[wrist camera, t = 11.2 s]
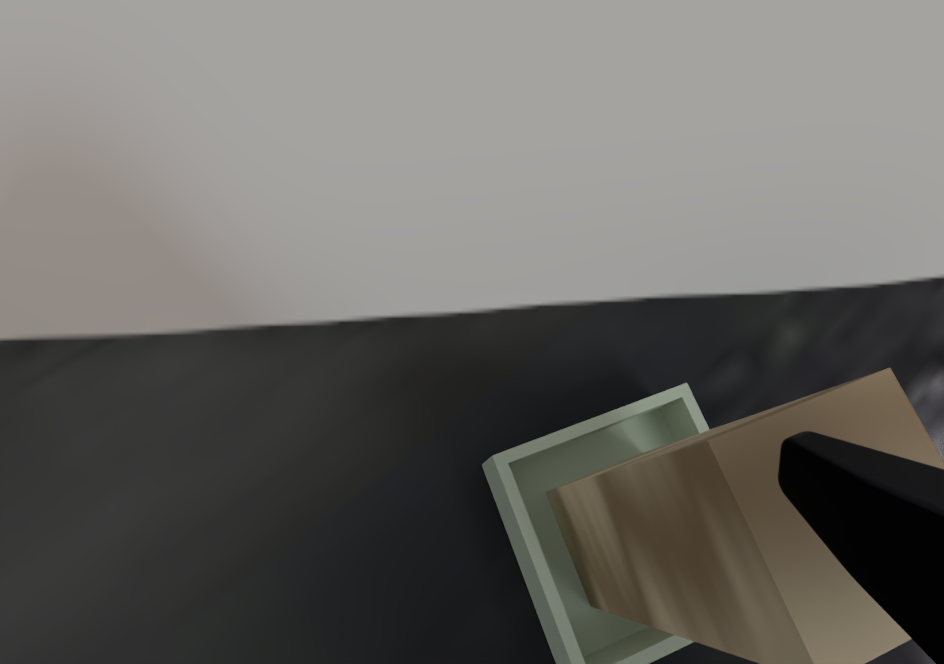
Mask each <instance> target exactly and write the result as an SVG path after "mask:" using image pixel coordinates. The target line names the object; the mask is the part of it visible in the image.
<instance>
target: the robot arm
mask: <svg viewBox="0 0 944 664" xmlns="http://www.w3.org/2000/svg"><path fill="white" fill-rule="evenodd" d="M778 483H779V486H780V488H781V490H782V492H783V493H784V495H785V496H786V497H787V499H788V500H789V501H790V502H791V503H792V505H793V506H794V507H795V508H796V510H797V511H798V512H799V513H800V515H801V516H802V517H803V518H804V519H805V521H806V522H807V523H808V524H809V526H810V527H811V528H812V529H813V531H814V532H815V533H816V534H817V535H818V537H819V538H820V539H821V540H822V542H823V543H824V544H825V545H826V546H827V548H828V549H829V550H830V551H831V553H832V554H833V555H834V556H835V558H836V559H837V560H838V561H839V562H840V564H841V565H842V566H843V567H844V568H845V569H846V571H847V572H848V573H849V574H850V575H851V576H852V577H853V578H854V580H855V581H856V582H857V583H858V584H859V585H860V586H861V587H862V588H863V589H864V590H865V591H866V592H867V593H868V594H869V595H870V596H871V597H872V598H873V599H874V600H875V601H876V602H877V603H878V605H879V606H880V607H881V608H882V609H883V610H884V611H885V612H886V613H887V614H888V615H889V616H890V617H891V618H892V619H893V620H894V621H895V622H896V623H897V624H898V625H899V626H900V627H901V628H902V629H903V630H904V631H905V632H906V633H907V634H908V635H909V636H910V637H911V638H912V639H913V640H914V641H915V642H916V643H917V644H918V646H919V647H920V648H921V649H922V650H923V651H924V652H925V653H926V654H927V655H928V656H929V657H930V658H931V659H932V660H933V661H934V662H935V663H936V664H944V469H941V468H938V467H934V466H931V465H927V464H924V463H920V462H917V461H913V460H910V459H906V458H903V457H900V456H896V455H893V454H889V453H886V452H882V451H879V450H875V449H872V448H868V447H865V446H861V445H858V444H854V443H851V442H847V441H844V440H840V439H837V438H833V437H830V436H826V435H823V434H819V433H816V432H812V431H803V432H800V433H798V434H795V435H793V436H791V437H788V438H786V439H785V440H784V441H783V442H782V444H781V448H780V458H779V468H778Z"/></svg>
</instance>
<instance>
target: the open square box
mask: <svg viewBox="0 0 944 664" xmlns="http://www.w3.org/2000/svg"><path fill="white" fill-rule="evenodd" d="M708 430H709V428H708V425H707V423H706V421H705V419H704V417H703V415H702V413H701V411H700V409H699V407H698V405H697V402H696V400H695V398H694V396H693V394H692V392H691V390H690V388H689V386H688V384H687V383H685V384H682V385H679V386H677V387H674V388H671V389H669V390H666V391H663V392H661V393H658V394H655V395H653V396H650V397H647V398H645V399H642V400H639V401H637V402H634V403H631V404H629V405H626V406H623V407H621V408H618V409H615V410H613V411H610V412H607V413H605V414H602V415H599V416H597V417H594V418H591V419H589V420H586V421H583V422H581V423H578V424H575V425H573V426H570V427H567V428H565V429H562V430H559V431H557V432H554V433H551V434H549V435H546V436H543V437H541V438H538V439H535V440H533V441H530V442H527V443H525V444H522V445H519V446H517V447H514V448H511V449H509V450H506V451H503V452H501V453H498V454H495V455H493V456H491V457H490V458H489V459H488V460H486V461H485V462H484V463H483V464H482V467H483V470H484V473H485V475H486V478H487V481H488V483H489V486H490V489H491V491H492V494H493V497H494V499H495V502H496V505H497V507H498V510H499V513H500V515H501V518H502V521H503V524H504V526H505V529H506V532H507V534H508V537H509V540H510V542H511V545H512V548H513V550H514V553H515V556H516V558H517V561H518V564H519V566H520V569H521V572H522V574H523V577H524V580H525V582H526V585H527V588H528V590H529V593H530V596H531V598H532V601H533V604H534V607H535V609H536V612H537V615H538V617H539V620H540V623H541V625H542V628H543V631H544V633H545V636H546V639H547V641H548V644H549V647H550V649H551V652H552V655H553V657H554V660H555V663H556V664H650V663H652V662H654V661H656V660H658V659H660V658H662V657H664V656H666V655H668V654H670V653H672V652H674V651H676V650H678V649H681V648H683V647H685V646H687V645H689V644H691V643H693V642H694V641H691V640H688V639H685V638H682V637H679V636H676V635H674V634H671V633H668V632H665V631H662V630H659V629H656V628H653V627H650V626H647V625H644V624H641V623H638V622H635V621H632V620H629V619H626V618H623V617H620V616H617V615H614V614H611V613H609V612H606V611H603V610H600V609H597V608H594V607H591V606H590V604H589V601H588V599H587V596H586V594H585V591H584V589H583V586H582V584H581V581H580V579H579V576H578V574H577V571H576V569H575V566H574V563H573V561H572V558H571V556H570V553H569V551H568V548H567V546H566V543H565V541H564V538H563V536H562V533H561V531H560V528H559V526H558V523H557V521H556V518H555V515H554V513H553V510H552V508H551V505H550V503H549V500H548V498H547V495H546V493H545V491H548V490H551V489H553V488H556V487H558V486H561V485H563V484H566V483H568V482H571V481H573V480H576V479H578V478H581V477H583V476H586V475H588V474H591V473H593V472H596V471H598V470H601V469H604V468H606V467H609V466H611V465H614V464H616V463H619V462H621V461H624V460H626V459H629V458H631V457H634V456H636V455H639V454H641V453H644V452H647V451H650V450H653V449H656V448H658V447H661V446H664V445H667V444H670V443H673V442H676V441H679V440H682V439H685V438H687V437H690V436H693V435H696V434H699V433H702V432H705V431H708Z"/></svg>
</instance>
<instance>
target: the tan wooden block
mask: <svg viewBox="0 0 944 664" xmlns="http://www.w3.org/2000/svg"><path fill="white" fill-rule="evenodd" d="M803 431H812V432H816V433H819V434H823V435H826V436H830V437H833V438H837V439H840V440H844V441H847V442H851V443H854V444H858V445H861V446H865V447H868V448H872V449H875V450H879V451H882V452H886V453H889V454H893V455H896V456H900V457H903V458H906V459H910V460H913V461H917V462H920V463H924V464H927V465H931V466H934V467H938V468H941V469H944V461H943V459H942V457H941V456H940V454H939V452H938V450H937V449H936V447H935V445H934V443H933V442H932V440H931V438H930V437H929V435H928V433H927V431H926V430H925V428H924V426H923V424H922V423H921V421H920V419H919V417H918V416H917V414H916V412H915V410H914V409H913V407H912V405H911V403H910V402H909V400H908V398H907V396H906V395H905V393H904V391H903V389H902V388H901V386H900V384H899V382H898V381H897V379H896V377H895V375H894V374H893V372H892V370H891V368H887V369H884V370H882V371H879V372H876V373H873V374H870V375H867V376H864V377H861V378H858V379H855V380H853V381H850V382H847V383H844V384H841V385H838V386H835V387H832V388H829V389H827V390H824V391H821V392H818V393H815V394H812V395H809V396H806V397H803V398H800V399H798V400H795V401H792V402H789V403H786V404H783V405H780V406H777V407H774V408H771V409H769V410H766V411H763V412H760V413H757V414H754V415H751V416H748V417H745V418H743V419H740V420H737V421H734V422H731V423H728V424H725V425H722V426H719V427H716V428H714V429H711V430H708V431H705V432H702V433H699V434H696V435H693V436H690V437H687V438H685V439H682V440H679V441H676V442H673V443H670V444H667V445H664V446H661V447H658V448H656V449H653V450H650V451H647V452H644V453H641V454H639V455H636V456H634V457H631V458H629V459H626V460H624V461H621V462H619V463H616V464H614V465H611V466H609V467H606V468H604V469H601V470H598V471H596V472H593V473H591V474H588V475H586V476H583V477H581V478H578V479H576V480H573V481H571V482H568V483H566V484H563V485H561V486H558V487H556V488H553V489H551V490H548V491H545V493H546V495H547V498H548V500H549V503H550V505H551V508H552V510H553V513H554V515H555V518H556V521H557V523H558V526H559V528H560V531H561V533H562V536H563V538H564V541H565V543H566V546H567V548H568V551H569V553H570V556H571V558H572V561H573V563H574V566H575V569H576V571H577V574H578V576H579V579H580V581H581V584H582V586H583V589H584V591H585V594H586V596H587V599H588V601H589V604H590V606H591V607H594V608H597V609H600V610H603V611H606V612H609V613H611V614H614V615H617V616H620V617H623V618H626V619H629V620H632V621H635V622H638V623H641V624H644V625H647V626H650V627H653V628H656V629H659V630H662V631H665V632H668V633H671V634H674V635H676V636H679V637H682V638H685V639H688V640H691V641H694V642H697V643H700V644H703V645H706V646H709V647H712V648H715V649H718V650H721V651H724V652H727V653H730V654H733V655H736V656H739V657H742V658H744V659H747V660H750V661H753V662H756V663H759V664H865V663H867V662H869V661H871V660H873V659H875V658H877V657H878V656H880V655H882V654H884V653H886V652H888V651H890V650H892V649H894V648H895V647H897V646H899V645H901V644H903V643H905V642H907V641H909V640H910V639H912V638H911V637H910V636H909V635H908V634H907V633H906V632H905V631H904V630H903V629H902V628H901V627H900V626H899V625H898V624H897V623H896V622H895V621H894V620H893V619H892V618H891V617H890V616H889V615H888V614H887V613H886V612H885V611H884V610H883V609H882V608H881V607H880V606H879V605H878V603H877V602H876V601H875V600H874V599H873V598H872V597H871V596H870V595H869V594H868V593H867V592H866V591H865V590H864V589H863V588H862V587H861V586H860V585H859V584H858V583H857V582H856V581H855V580H854V578H853V577H852V576H851V575H850V574H849V573H848V572H847V571H846V569H845V568H844V567H843V566H842V565H841V564H840V562H839V561H838V560H837V559H836V558H835V556H834V555H833V554H832V553H831V551H830V550H829V549H828V548H827V546H826V545H825V544H824V543H823V542H822V540H821V539H820V538H819V537H818V535H817V534H816V533H815V532H814V531H813V529H812V528H811V527H810V526H809V524H808V523H807V522H806V521H805V519H804V518H803V517H802V516H801V515H800V513H799V512H798V511H797V510H796V508H795V507H794V506H793V505H792V503H791V502H790V501H789V500H788V499H787V497H786V496H785V495H784V493H783V492H782V490H781V488H780V486H779V483H778V468H779V458H780V448H781V444H782V442H783V441H784V440H785V439H786V438H788V437H791V436H793V435H795V434H798V433H800V432H803Z"/></svg>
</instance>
